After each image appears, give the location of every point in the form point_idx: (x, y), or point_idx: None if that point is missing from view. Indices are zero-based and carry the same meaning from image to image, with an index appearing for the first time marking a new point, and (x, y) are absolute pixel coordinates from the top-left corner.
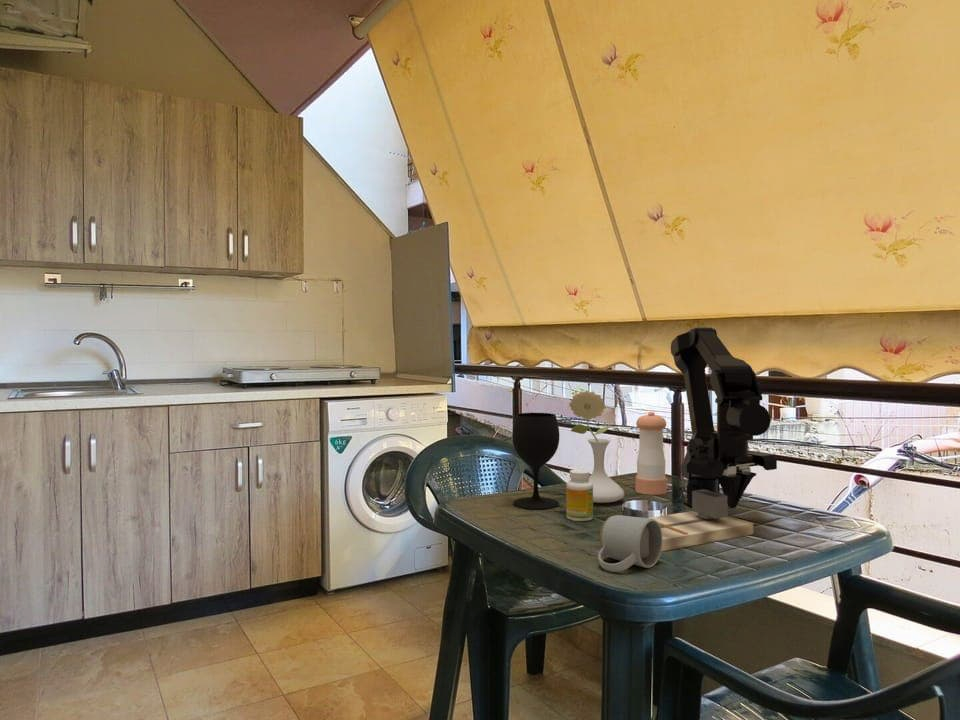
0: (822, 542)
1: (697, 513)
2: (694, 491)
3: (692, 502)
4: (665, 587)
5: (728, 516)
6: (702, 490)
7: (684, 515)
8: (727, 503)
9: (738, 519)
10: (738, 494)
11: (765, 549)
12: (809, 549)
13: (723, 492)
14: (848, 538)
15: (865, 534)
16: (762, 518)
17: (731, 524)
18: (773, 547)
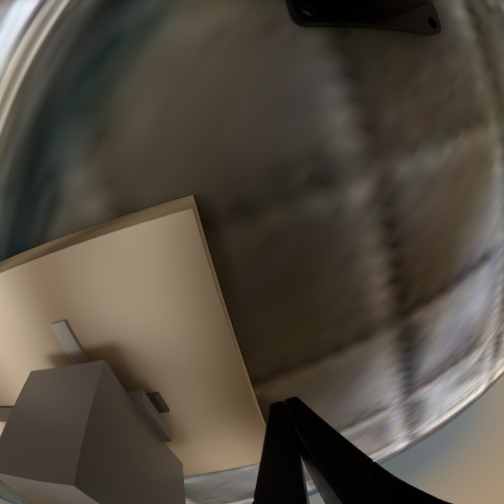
0: (376, 452)
1: (82, 309)
2: (4, 482)
3: (13, 411)
4: (14, 500)
5: (242, 387)
6: (59, 493)
7: (8, 328)
8: (266, 424)
9: (257, 425)
10: (323, 498)
11: (212, 491)
12: (309, 485)
13: (256, 489)
14: (439, 420)
15: (480, 391)
16: (453, 250)
17: (183, 462)
18: (241, 486)
